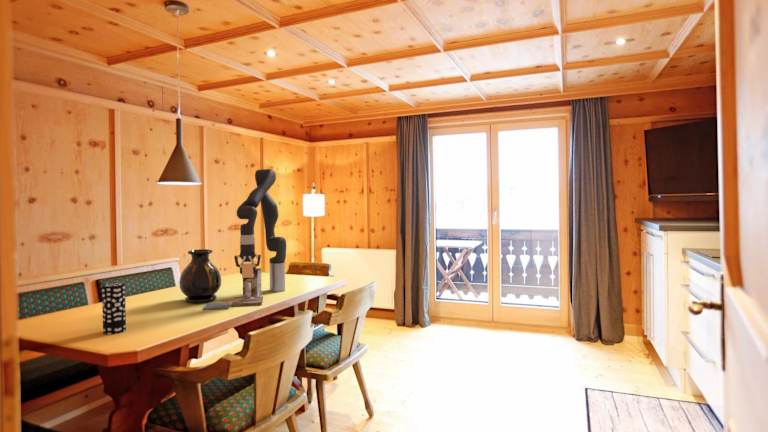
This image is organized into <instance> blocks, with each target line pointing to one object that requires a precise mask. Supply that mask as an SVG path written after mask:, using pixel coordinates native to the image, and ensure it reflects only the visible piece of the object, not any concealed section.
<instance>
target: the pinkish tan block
mask: <svg viewBox="0 0 768 432" xmlns="http://www.w3.org/2000/svg"><path fill="white" fill-rule="evenodd" d="M253 276H254V274H253V264H252V263H251V262H244V264H243V265H242V275H241V278H242V279H243V278H251V277H253Z"/></svg>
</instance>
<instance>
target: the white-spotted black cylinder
mask: <svg viewBox="0 0 768 432" xmlns="http://www.w3.org/2000/svg"><path fill="white" fill-rule="evenodd" d="M101 296H102V297H101V299H102V304H101V305H102V334H103V333H104V335H116V334H115V333H117V334H121V333H123V331H124V332H126V331H127V320H126V319H127V318H126V317H127V316H126V313H127V312H126V283H124V282H112V283H105V284H103V285H101ZM125 330H126V331H125ZM120 332H121V333H120Z"/></svg>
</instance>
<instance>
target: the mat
mask: <svg viewBox="0 0 768 432" xmlns="http://www.w3.org/2000/svg"><path fill="white" fill-rule="evenodd" d="M231 305H232V302H214V303H213V302H212V303H210V302H209V303H206V304H205V305H204V307H203V308H202V311H215V310H216V311H217V310H229V307H230V306H231Z"/></svg>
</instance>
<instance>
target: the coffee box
mask: <svg viewBox="0 0 768 432" xmlns="http://www.w3.org/2000/svg"><path fill="white" fill-rule="evenodd" d="M245 283H251V297H262V268H257V267H256V273H255V274H254V276H253V277H251V278H242V297H245Z"/></svg>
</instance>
